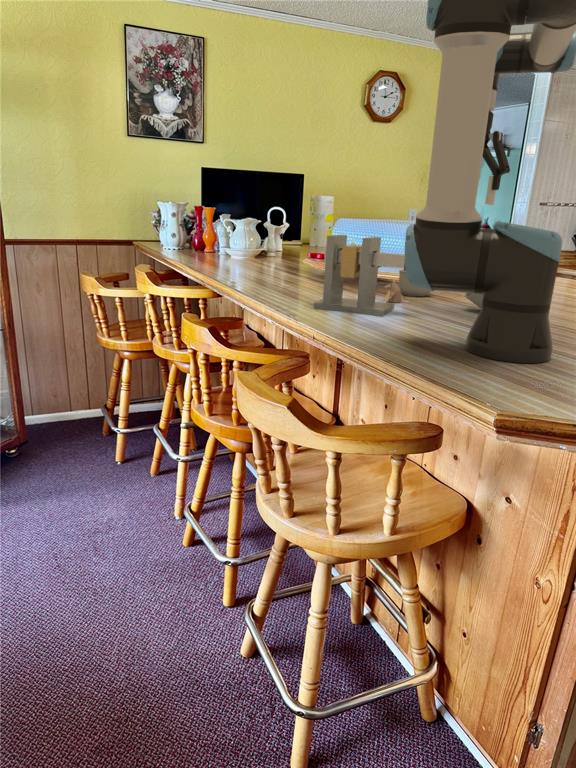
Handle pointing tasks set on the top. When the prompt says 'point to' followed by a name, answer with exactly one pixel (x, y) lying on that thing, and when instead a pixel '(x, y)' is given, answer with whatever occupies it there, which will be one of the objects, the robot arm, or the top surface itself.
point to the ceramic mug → (475, 298)
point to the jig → (366, 280)
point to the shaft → (379, 259)
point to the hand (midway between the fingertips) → (464, 204)
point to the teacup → (410, 286)
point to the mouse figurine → (393, 293)
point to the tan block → (350, 261)
